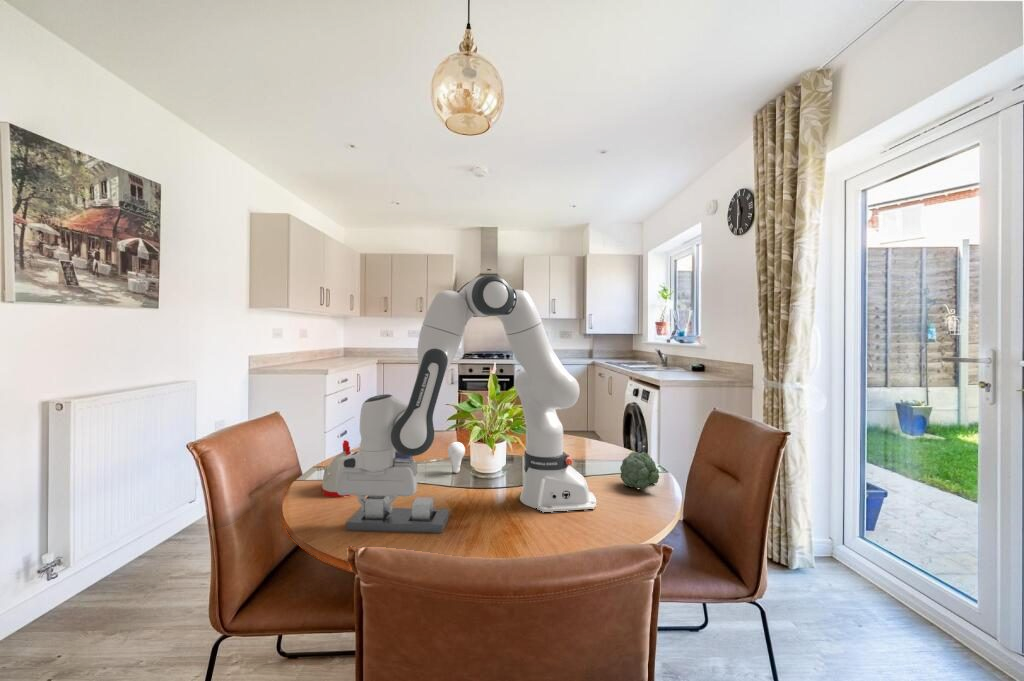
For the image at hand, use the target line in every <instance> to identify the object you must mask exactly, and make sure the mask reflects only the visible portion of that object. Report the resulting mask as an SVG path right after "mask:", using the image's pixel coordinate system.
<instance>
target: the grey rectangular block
mask: <svg viewBox="0 0 1024 681" xmlns="http://www.w3.org/2000/svg"><path fill="white" fill-rule="evenodd" d="M387 503H390V500H389V496H366V498H365V520H383V521H384V520H385V519H386V518H387V516H388V515H389V513H385V505H386V504H387Z"/></svg>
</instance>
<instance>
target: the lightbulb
mask: <svg viewBox="0 0 1024 681" xmlns="http://www.w3.org/2000/svg"><path fill="white" fill-rule="evenodd" d="M465 453H466V447H465V446H464V444H463V443H462V442H459V441H455V442H452V443H451V444H449V446H448V447H447V454H448V456H449V459H450V462H451V468H452V472H453V473H455V474H458V473H459V472H460V471H461V463H462V460H463V458H464V456H465Z"/></svg>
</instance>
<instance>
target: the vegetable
mask: <svg viewBox="0 0 1024 681" xmlns="http://www.w3.org/2000/svg"><path fill="white" fill-rule="evenodd" d="M659 470H660V469H658V468H657V465H656V463H655V461H654V460H653V458H652V457H651V456H650V455H649V454H648V453H647V452H644V451H642V452H637V451H633V452H630V453H629V454H628V456H626V457H625V458H623V459H622V463H621V465H620V479H621V481H622V482H623V483H624V485H625V484H626V485H627V486H629V487H628V488H633V487H634V488H635V487H636V488H640V489H641V490H642V489H643V490H645V489H647V488H648V487H649V486H650V484H652V483H654V484H658V483H659V479H660V475H659V472H660V471H659ZM626 485H625V486H626ZM627 486H626V487H627Z"/></svg>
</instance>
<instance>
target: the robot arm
mask: <svg viewBox="0 0 1024 681" xmlns="http://www.w3.org/2000/svg"><path fill="white" fill-rule="evenodd" d="M495 316H496V317H497V318H498V319H499V321H500V322H501V323H502V326H503V329H504V332H505V336H506V337H507V340H508V342H509V343H508V344H509V346H510V348H511V352H512V355H513V357H514V359H515V360H516V361H517V363H518V364H520V365H521V367H522V368H523V370H522V371H520V372H519V373H518V375H517V376H516V378H515V379H514V380H515V381H514V390H515V392H516V394H517V395H518V398H519V400H520V403H521V407H522V412H523V416H524V424H525V431H526V432H525V450H524V455H523V469H524V478H523V484H522V488H521V493H520V496H519V500H520V502H521V503H522V504H523V505H525V506H528V507H530V508H532V509H536V508H537V509H536V510H538V511H539V510H540V511H539V512H541V511H542V512H541V513H544V512H551V513H554V512H553V511H567V512H569V511H568V510H578V509H590V508H594V507H595V506H596V507H597V505H596V503H597V498H596V496H595V494H594V493H593V492H592V491H590V490H589V484H588V482H587V480H586V478H585V477H584V476H583V475H582V474H581V473H580V472H579V471H577V470H576V469H575V468H574V467H572V465H573V463H574V461H573V459H572V457H570V455H569V454H568V453H567V452H564V427H563V424H562V422H561V420H560V418H559V416H558V414H557V410H566V409H570V408H572V407H573V406H575V404H576V403H577V402H578V400H579V397H580V392H581V390H580V384H579V382H578V380H577V379H576V378H575V377H574V376H573V375H572V374H570V373H569V371H568V370H567V369H566V368H565V367H564V365H563V363H562V362H561V361H560V359H559V357H558V356H557V354H556V353H555V351H554V349H553V347H552V345H551V342H550V341H549V337H548V335H547V332H546V329H545V326H544V323H543V321H542V318H541V314H540V313H539V310H538V308H537V306H536V304H535V302H534V301H533V298H532V297H531V295H530V294H529V293H528V292H527V291H525V290H523V289H514V288H513V287H512V286H510V284H509V283H508V282H507V281H506V280H505V279H504V278H502V277H500V276H497V275H495V274H492V275H491V274H488V275H484V276H483V275H482V276H479V277H475V278H473V279H472V280H470V281H468V282H466V283H465V284H464V285H463V286H462V287H460V288H459V290H457V291H455V290H441V291H439V292H438V293H436V294H435V295H434V297H433V299H432V301H431V303H430V305H429V307H428V309H427V311H426V314H425V316H424V319H423V322H422V325H421V327H420V332H419V336H418V342H417V374H416V378H415V382H414V385H413V388H412V392H411V395H410V398H409V400H408V401H409V402H408V403H406V402H404V401H401V400H400V399H398V398H396V397H395V396H394V395H392V394H388V393H387V394H378V395H373V396H371V397H368V398H367V399H366V400H364V402H363V403H362V405H361V409H360V413H359V414H360V415H359V434H360V439H361V440H360V444H359V446H358V448H359V449H358V450H357V451H354V452H353V451H352V452H353V453H351V454H349V455H347V456H345V457H344V458H343V459H341V460H340V467H341V469H340V470H339V471H338V474H337V481H336V491H337V493H338V494H339V495H354V496H357V501H358V503H359V504H360V507H362V512H365V499H366V498H365V497H368V496H389V503H387V504H386V505H385V513H391V511H392V508H393V504H394V503H395V501H396V499H397V498H398V497H412V496H413V495H415V494H416V492H417V490H418V479H417V478H418V477H417V474H418V463H417V462H416V461H415V460H413V458H412V459H401V458H395V449H396V450H397V451H398V452H399V453H401V454H403V455H406V456H413V457H415V456H420V455H422V454H424V453H425V452H427V451H428V450H429V449H430V448H431V447H432V444H433V443H434V439H435V427H434V420H433V419H434V413H435V412H434V411H435V409H436V408H435V407H436V405H437V401H438V398H439V394H440V390H441V387H442V385H443V381H444V378H445V376H446V373H447V372H448V370H449V368H450V366H451V364H452V362H453V361H454V359H455V357H456V355H457V353H458V350H459V348H460V344H461V343H462V339H463V335H464V333H465V327H466V326H467V324H468V322H469V321H470V320H471V318H477V317H478V318H488V317H495Z"/></svg>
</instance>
